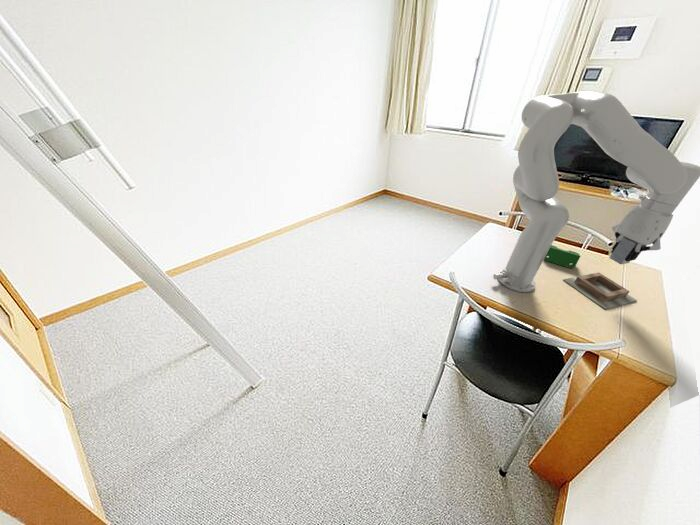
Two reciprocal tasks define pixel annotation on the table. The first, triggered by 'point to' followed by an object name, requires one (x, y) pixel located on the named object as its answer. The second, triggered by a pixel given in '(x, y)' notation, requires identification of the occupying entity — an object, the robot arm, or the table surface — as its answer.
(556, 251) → the green rectangular block
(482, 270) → the table surface
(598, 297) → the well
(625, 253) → the grey angular block
